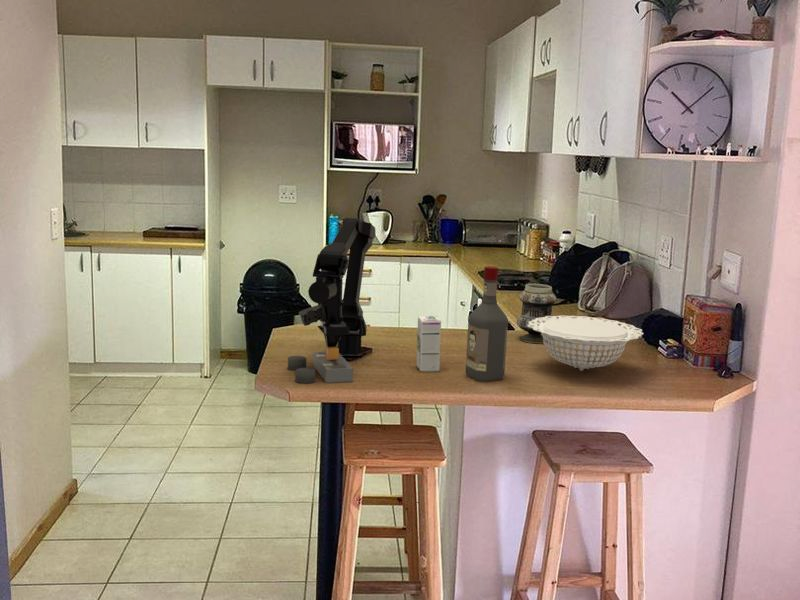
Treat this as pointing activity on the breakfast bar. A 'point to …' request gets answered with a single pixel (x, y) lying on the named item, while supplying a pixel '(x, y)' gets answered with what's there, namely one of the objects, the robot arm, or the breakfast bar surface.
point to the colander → (584, 338)
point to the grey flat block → (332, 368)
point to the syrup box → (428, 343)
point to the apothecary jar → (535, 309)
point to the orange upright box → (332, 353)
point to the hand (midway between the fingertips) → (330, 353)
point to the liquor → (487, 334)
